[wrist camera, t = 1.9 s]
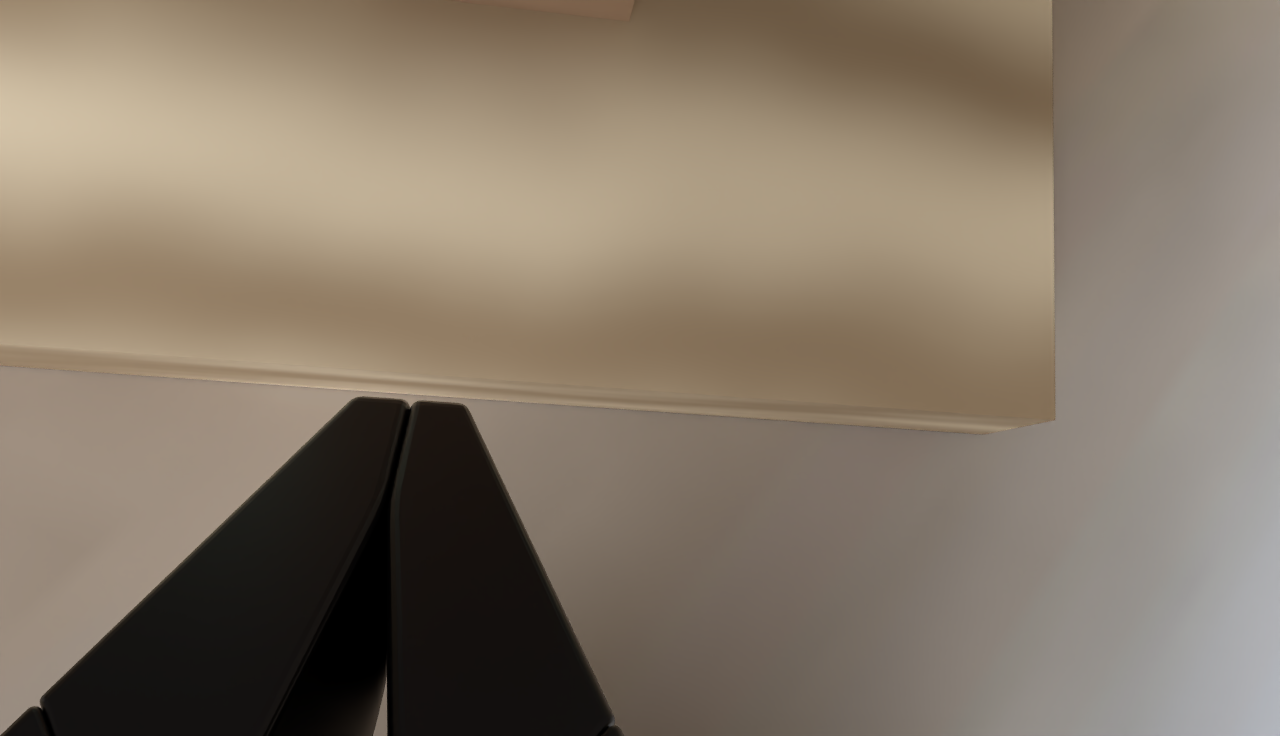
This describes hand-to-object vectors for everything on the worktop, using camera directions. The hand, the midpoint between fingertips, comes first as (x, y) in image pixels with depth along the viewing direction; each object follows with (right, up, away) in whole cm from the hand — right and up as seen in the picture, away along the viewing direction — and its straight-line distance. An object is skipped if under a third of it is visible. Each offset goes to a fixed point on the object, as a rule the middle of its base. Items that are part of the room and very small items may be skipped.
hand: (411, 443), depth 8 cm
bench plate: (-1, +7, +15) cm, 16 cm away
